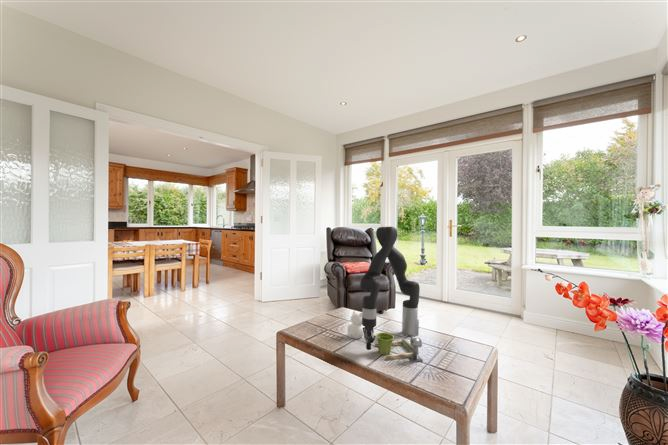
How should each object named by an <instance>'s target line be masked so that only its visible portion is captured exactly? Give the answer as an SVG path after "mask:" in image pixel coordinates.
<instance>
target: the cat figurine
mask: <svg viewBox="0 0 668 445" xmlns="http://www.w3.org/2000/svg"><path fill="white" fill-rule="evenodd" d="M350 321H351V323H349V324H348V326H347V335H348V337H349V338H350V339H354V340H359V339H360V338H361V337H362V336H364V333H363V327H364V326H363V325H362V312H358V311H356V310H353V311H352V315H351V316H350Z"/></svg>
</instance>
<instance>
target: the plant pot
mask: <svg viewBox="0 0 668 445" xmlns="http://www.w3.org/2000/svg"><path fill="white" fill-rule="evenodd" d="M375 336H376V340H377V343H378V347H377V348H378V353H379V354H380V355H384V356H386V355H391V351H392V347H393V346H392V342H394V341H393V340H394V338H395V336H394V335H393V334H392V333H391V334H390V333H388V332H378V333H377V334H375Z"/></svg>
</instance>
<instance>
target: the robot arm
mask: <svg viewBox="0 0 668 445" xmlns="http://www.w3.org/2000/svg"><path fill="white" fill-rule="evenodd" d="M375 235H376V238H377V239H376V240H377V241H378V243H379V245H380V246H381V248H380V249H379V250H378V252H377V253H376V254H375V255H374V256H373V257H372V259H371V262H370V264H369V267H368V270H367V271H366V272H365V273H364V274H363V277H362V278H361V280H360V281H359V283H360V284H359V286H360V289H361V291H364V292H369V293H370V294H368V295H365V296H363V299H362V310H361V313H362V325H361V326H362V327H363V337H364V340H365V348H366V350H367V351H369V350H372V344H373V343H374V342H375V340H376V339H377V337H376V334H374V333H375V330H374V328H375V327H377V313H378V312H377V300H378V296H379V292H380V289H381V282H380V281H379V280H378V279H376V277H377V278H378V277H380V276H381V274H382V272H383V269H384V266H385V263H386V260H388V262H389V264H390V267H391V268H392V271H393V272H394V276H395V278H396V280H397V283H398V287H399V289H400V292H401V293H402V294H403V295H405V296H409V299H405V300H403V301H402V312H401V314H402V319H401V323H402V325H401V333H402V335H404V336H407V335H413V337H416V336H419V335H420V334H419V330H420V329H419V328H420V327H419V325H420V320H419V318H418V316H419V315H418V314H419V313H418V311H419V310H418V309H419V308H418V307H419V302H420V301H419V300H420V284H419V282H417V281H412V280H408V278H407V277H406V271H407V268H408V264H407V261H406V259H405V257H404V255H403V254H402V252H400V251H399V250H398V249H397V248H396V247H395V243H396V242H397V239H398V230H397V228H396V227H395V226H380V227H378V228H377V229H376V233H375Z"/></svg>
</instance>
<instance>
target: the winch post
mask: <svg viewBox="0 0 668 445" xmlns="http://www.w3.org/2000/svg"><path fill="white" fill-rule="evenodd" d="M407 337H408V338H410V339H409V341H410V342H409V343H410V344H411V346H412V347H413V356H409V358H408V359H410V360H411V361H412V362H413V363H420V362H424V360H423V358H421V357H420V356H419V353H418V351H419V348H422V346H423V341H422V339H421V338H420V337H414V336H413V335H407Z"/></svg>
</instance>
